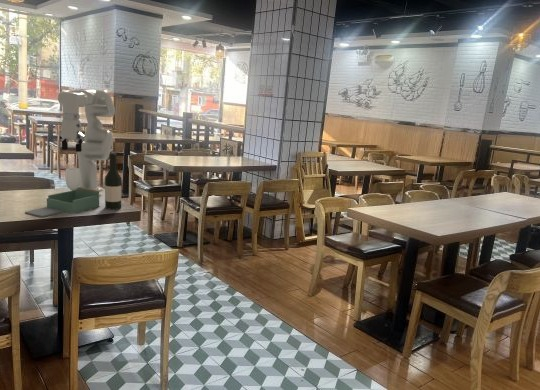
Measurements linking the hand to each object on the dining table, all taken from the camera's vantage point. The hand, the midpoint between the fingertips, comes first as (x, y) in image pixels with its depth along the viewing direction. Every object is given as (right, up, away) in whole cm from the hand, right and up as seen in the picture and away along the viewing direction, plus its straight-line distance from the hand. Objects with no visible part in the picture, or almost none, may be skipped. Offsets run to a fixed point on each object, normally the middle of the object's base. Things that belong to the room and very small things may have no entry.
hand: (71, 150), depth 226 cm
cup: (-2, -30, +7) cm, 31 cm away
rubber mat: (-10, -32, -8) cm, 35 cm away
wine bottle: (+17, -30, +11) cm, 37 cm away
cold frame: (-2, -30, +7) cm, 30 cm away
